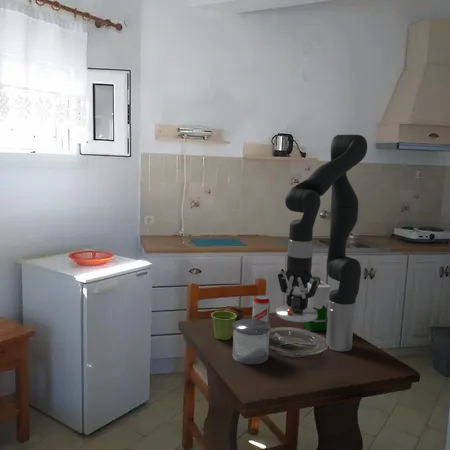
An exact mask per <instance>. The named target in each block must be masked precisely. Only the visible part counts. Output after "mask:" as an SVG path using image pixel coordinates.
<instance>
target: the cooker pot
mask: <svg viewBox="0 0 450 450" xmlns="http://www.w3.org/2000/svg"><path fill="white" fill-rule="evenodd" d="M271 329H272V327H271V324H270V323H269V324H268V323H267V322H264V321H261V320H256V319H252V318H243V319H242V320H241V319H240V320H238V321H235V322H234V323H233V332H232V335H233V338H232V358H233V359H234V361H236V362H238V363H242V364H244V365H259V364H263V363H265V362H267V361H268V360H269V349H270V330H271Z"/></svg>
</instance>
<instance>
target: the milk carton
mask: <svg viewBox="0 0 450 450" xmlns="http://www.w3.org/2000/svg"><path fill="white" fill-rule="evenodd" d="M312 277H313V278H315V279H319V280H320V283H319V285H318V288H317V290H316V293H315V295H314V296H313V297H311V298H308V307H310V308H313V309H315V310H316V311H317V312H318V317H317V319H316V320H314V321H310V322H302V326H303V327H304V328H306V329H307V330H308V331H310V332H320V331H321V332H322V331H327V319H328V305H329V294H330V292H331V286H330V285H328V283H325V282H323V281H322V280H321V277H319V276H312ZM311 286H312V285H311V281H309V282H308V292H309V291H310V288H311Z"/></svg>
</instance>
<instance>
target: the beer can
mask: <svg viewBox="0 0 450 450" xmlns="http://www.w3.org/2000/svg"><path fill="white" fill-rule="evenodd" d="M270 305H271V300H270V297H269V296H268V295H265V294H257V295H255V296H254V299H253V300H252V315H251V316H252V317H251V319H256V320H261V321H264V322H267V323H268V324H270V310H271V309H270V307H271V306H270Z"/></svg>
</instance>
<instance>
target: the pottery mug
mask: <svg viewBox="0 0 450 450" xmlns="http://www.w3.org/2000/svg"><path fill="white" fill-rule="evenodd" d="M222 311H228V312H232V313H235V314H236V315H237V317H236V318H235V321H238V320H242V319H244V311H243V310H241V309H240V308H238V307H234V306H230V305H226V308H225V309H223V310H222ZM235 321H234V322H235Z"/></svg>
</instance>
